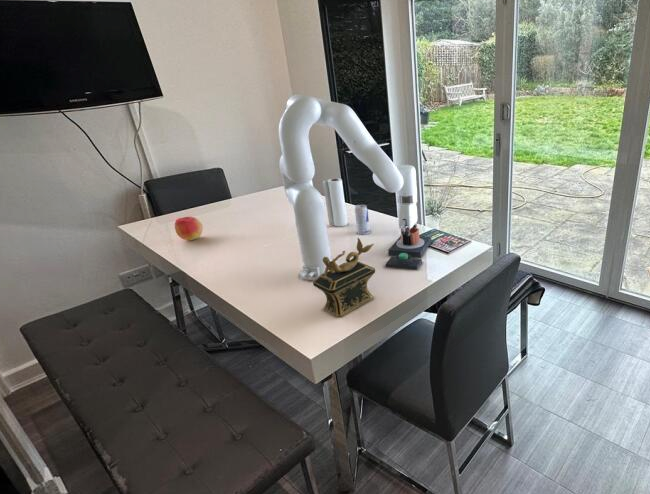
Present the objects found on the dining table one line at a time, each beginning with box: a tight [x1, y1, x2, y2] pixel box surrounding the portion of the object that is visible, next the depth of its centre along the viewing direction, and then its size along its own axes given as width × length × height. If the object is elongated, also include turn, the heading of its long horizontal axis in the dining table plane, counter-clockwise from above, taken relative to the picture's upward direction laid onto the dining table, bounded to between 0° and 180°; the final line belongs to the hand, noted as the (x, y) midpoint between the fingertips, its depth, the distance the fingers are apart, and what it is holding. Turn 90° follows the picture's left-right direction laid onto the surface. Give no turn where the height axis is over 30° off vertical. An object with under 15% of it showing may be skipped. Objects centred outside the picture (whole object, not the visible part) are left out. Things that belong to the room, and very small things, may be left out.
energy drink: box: [354, 204, 371, 235], centre depth 177 cm, size 5×5×12 cm
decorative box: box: [312, 237, 376, 317], centre depth 124 cm, size 20×10×20 cm, turn 143°
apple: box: [174, 216, 203, 241], centre depth 173 cm, size 10×10×10 cm
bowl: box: [400, 226, 420, 245], centre depth 161 cm, size 7×7×5 cm
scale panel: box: [385, 254, 423, 271], centre depth 150 cm, size 6×12×3 cm, turn 79°
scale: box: [387, 235, 432, 259], centre depth 163 cm, size 15×13×3 cm
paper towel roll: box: [322, 177, 349, 227], centre depth 184 cm, size 7×6×21 cm
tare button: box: [399, 253, 408, 260], centre depth 149 cm, size 3×3×2 cm
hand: (410, 240), depth 162 cm, fingers closed on bowl, 7 cm apart
